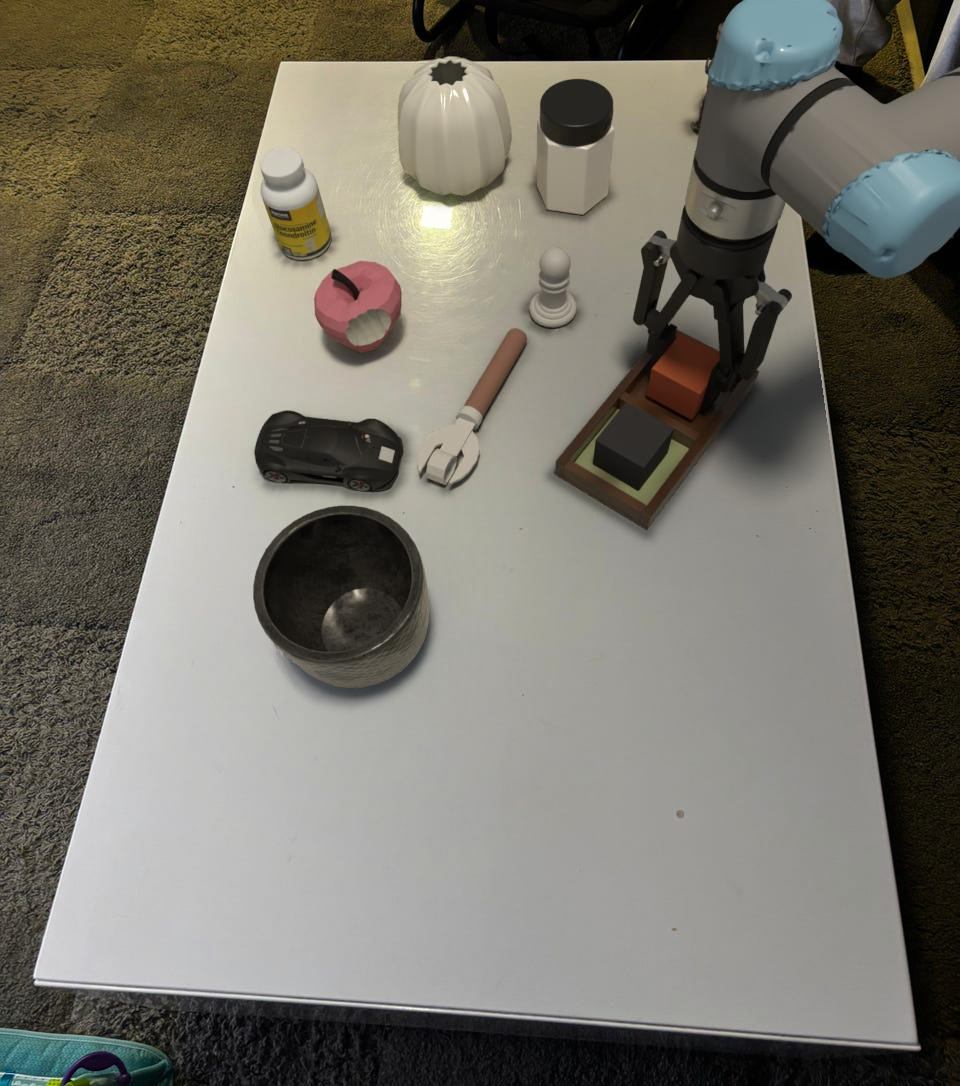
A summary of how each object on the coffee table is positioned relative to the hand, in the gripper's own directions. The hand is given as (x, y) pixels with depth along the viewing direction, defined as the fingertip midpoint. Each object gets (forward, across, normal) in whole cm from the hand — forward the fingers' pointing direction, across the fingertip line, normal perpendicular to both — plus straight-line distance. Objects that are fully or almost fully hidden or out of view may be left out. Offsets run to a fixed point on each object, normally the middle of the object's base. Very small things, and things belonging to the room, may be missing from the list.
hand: (683, 388), depth 86 cm
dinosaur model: (+2, -17, +35) cm, 39 cm away
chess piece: (+2, -18, +2) cm, 18 cm away
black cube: (+1, 0, -10) cm, 10 cm away
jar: (+2, -27, +19) cm, 33 cm away
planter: (+2, -10, -40) cm, 41 cm away
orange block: (0, 0, 0) cm, 0 cm away
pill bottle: (+2, -49, -6) cm, 49 cm away
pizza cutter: (+2, -17, -14) cm, 22 cm away
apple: (+2, -33, -13) cm, 36 cm away
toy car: (+2, -26, -27) cm, 38 cm away
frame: (+2, 0, -5) cm, 5 cm away
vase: (+2, -41, +14) cm, 43 cm away
